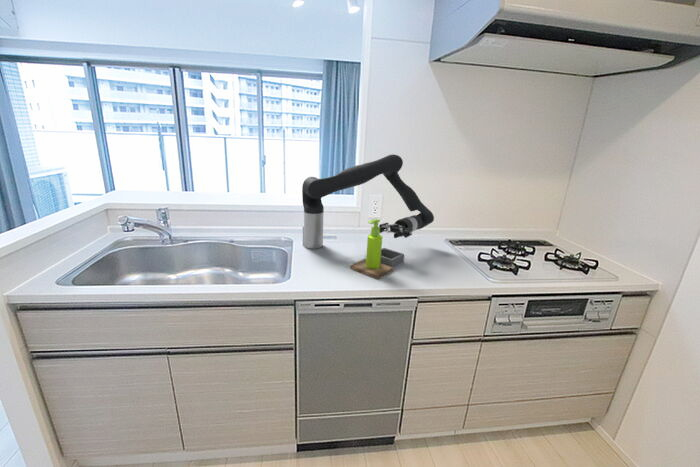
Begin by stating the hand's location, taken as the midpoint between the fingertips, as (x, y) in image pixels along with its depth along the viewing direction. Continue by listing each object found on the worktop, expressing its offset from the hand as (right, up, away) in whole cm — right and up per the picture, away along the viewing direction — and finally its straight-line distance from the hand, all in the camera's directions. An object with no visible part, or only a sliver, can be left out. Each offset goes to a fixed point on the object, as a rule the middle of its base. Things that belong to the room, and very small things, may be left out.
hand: (386, 233), depth 134 cm
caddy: (+1, -13, +6) cm, 14 cm away
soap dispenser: (-6, -14, -2) cm, 15 cm away
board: (-6, -15, -2) cm, 17 cm away
